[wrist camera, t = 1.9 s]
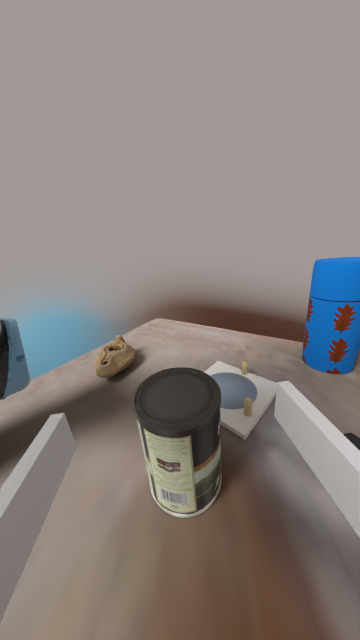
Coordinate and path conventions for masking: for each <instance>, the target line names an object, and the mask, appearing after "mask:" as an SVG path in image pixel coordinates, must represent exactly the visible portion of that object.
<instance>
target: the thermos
mask: <svg viewBox="0 0 360 640" xmlns="http://www.w3.org/2000/svg"><path fill="white" fill-rule="evenodd" d="M359 349H360V257H344V258H328V259H320V260H316V261H315V264H314V268H313V274H312V282H311V289H310V297H309V304H308V312H307V319H306V327H305V334H304V342H303V356H302V357H303V361H304V362H305V363H306V364H307V365H309V366H310V367H312V368H314V369H316V370H319V371H322V372H326V373H331V374H347V373H349V372H351V371H352V370H353V368H354V365H355V362H356V359H357V356H358V353H359Z"/></svg>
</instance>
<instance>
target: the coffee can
mask: <svg viewBox="0 0 360 640" xmlns="http://www.w3.org/2000/svg"><path fill="white" fill-rule="evenodd" d="M220 406H221V390H220V387H219V385H218V384H217V382H216V381H215V380H214V379H213V378H212V377H211V376H210V375H208V374H206V373H204V372H202V371H200V370H196V369H192V368H171V369H166V370H163V371H160V372H157V373H155V374H153V375H151V376H149V377H148V378H147V379H145V380H144V381H143V382H142V383H141V384H140V385H139V386H138V388H137V389H136V391H135V393H134V396H133V400H132V407H133V411H134V415H135V417H136V419H137V424H138V429H139V434H140V439H141V443H142V448H143V453H144V458H145V462H146V467H147V472H148V477H149V485H150V490H151V493H152V496H153V498H154V500H155V501H156V503H157V504H158V506H159V507H160V508H161V509H163V511H165V512H167V513H168V514H170V515H172V516H175V517H180V518H189V517H194V516H197V515H199V514H201V513H203V512H204V511H206V510H207V509H208V508H209V507H210V506H211V505H212V504H213V502H214V501H215V499H216V498H217V496H218V493H219V491H220V487H221V480H222V474H221V438H220V431H221V430H220Z"/></svg>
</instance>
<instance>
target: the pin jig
mask: <svg viewBox="0 0 360 640" xmlns="http://www.w3.org/2000/svg"><path fill="white" fill-rule="evenodd" d="M204 373H206V374H208V375H210V376H211V377H212V378H213V379H214V380H215V381H216V382H217V384H218V385H219V387H220V390H221V406H220V425H222V426H223V427H225V428H227V429H228V430H230V431H231V432H233V433H234V434H236V435H238V436H239V437H241V438H242V439H244V440H245V439H246V438H247V437H248V435H249V434H250V432H251V431H252V429H253V428H254V427H255V425H256V424H257V422H258V421H259V419H260V418H261V417H262V415H263V414H264V412H265V411H266V409H267V408H268V407H269V405H270V404H271V402H272V401H273V399H274V398H275V397H276V388H277V383H276V382H273V381H270V380H268V379H265V378H262V377H260V376H257V375H254V374H252V373H249V372H248V361H245V360H244V361H242V370H241V369H239V368H236V367H233V366H231V365H228V364H225V363H223V362H220V361H218V362H216V363H215V364H213V365H212V366H211V367H209V368H208V369H207V370H205V371H204Z"/></svg>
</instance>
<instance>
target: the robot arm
mask: <svg viewBox="0 0 360 640" xmlns="http://www.w3.org/2000/svg"><path fill="white" fill-rule="evenodd" d="M29 382H30V376H29V371H28V367H27V363H26V359H25V354H24V350H23V346H22V342H21V338H20V333H19V329H18V325H17V322H16V320H14V319H6V318H3V319H0V400H2V399H5V398H6V397H7V396H9V395H11V394H14V393H16V392H19V391H21V390H23V389H24V388H26V387H27V386H28V384H29ZM274 417H275V418H276V420H277V421H278V423H279V424H280V425H281V427H282V428H283V430H284V431H285V433H286V434H287V435H288V437H289V438H290V440H291V441H292V442H293V444H294V445H295V447H296V448H297V450H298V451H299V452H300V454H301V455H302V457H303V458H304V460H305V461H306V462H307V464H308V465H309V467H310V468H311V469H312V471H313V472H314V474H315V475H316V477H317V478H318V479H319V481H320V482H321V484H322V485H323V486H324V488H325V489H326V491H327V492H328V494H329V495H330V496H331V498H332V499H333V501H334V502H335V504H336V505H337V506H338V508H339V509H340V511H341V512H342V513H343V515H344V516H345V518H346V519H347V521H348V522H349V523H350V525H351V526H352V528H353V529H354V531H355V532H356V533H357V535H358V536H359V538H360V438H359V437H357V436H355V435H354V434H352V433H347V434H342V433H341V432H340V431H339V430H338V429H337V428H336V427H335V426H334V425H333V424H332V423H331V422H330V421H329V420H328V419H327V418H326V417H325V416H324V415H323V414H322V413H321V412H320V411H319V410H318V409H317V408H316V407H315V406H314V405H313V404H312V403H311V402H310V401H309V400H308V399H307V398H306V397H305V396H303V395H302V394H301V393H300V392H299V391H298V390H297V389H296V388H295V387H294V386H293V385H292V384H291V383H290V382H289V381H284V382H277V388H276V400H275V412H274ZM76 447H77V446H76V444H75V441H74V438H73V435H72V432H71V430H70V427H69V424H68V421H67V419H66V416H65V413H59V414H52V415H50V417H49V418H48V420H47V421H46V423H45V424H44V426H43V427H42V429H41V430H40V432H39V433H38V434H37V436H36V437H35V439H34V440H33V442H32V443H31V445H30V446H29V448H28V449H27V451H26V452H25V454H24V455H23V456H22V458H21V459H20V461H19V462H18V464H17V465H16V467H15V468H14V470H13V471H12V473H11V474H10V475H9V477H8V478H7V480H6V481H5V483H4V484H3V486H2V487H1V489H0V621H1V619H2V617H3V614H4V612H5V610H6V608H7V605H8V603H9V601H10V598H11V596H12V594H13V592H14V589H15V587H16V585H17V582H18V580H19V578H20V575H21V573H22V571H23V569H24V566H25V564H26V562H27V559H28V557H29V555H30V553H31V550H32V548H33V546H34V543H35V541H36V539H37V536H38V534H39V532H40V530H41V527H42V525H43V523H44V520H45V518H46V516H47V514H48V511H49V509H50V507H51V504H52V502H53V500H54V497H55V495H56V493H57V491H58V488H59V486H60V484H61V481H62V479H63V477H64V475H65V472H66V470H67V468H68V465H69V463H70V461H71V458H72V456H73V454H74V452H75V449H76Z"/></svg>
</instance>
